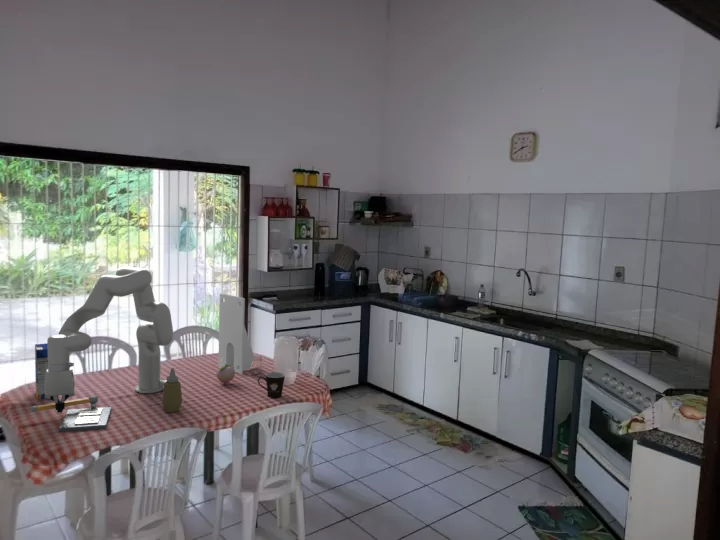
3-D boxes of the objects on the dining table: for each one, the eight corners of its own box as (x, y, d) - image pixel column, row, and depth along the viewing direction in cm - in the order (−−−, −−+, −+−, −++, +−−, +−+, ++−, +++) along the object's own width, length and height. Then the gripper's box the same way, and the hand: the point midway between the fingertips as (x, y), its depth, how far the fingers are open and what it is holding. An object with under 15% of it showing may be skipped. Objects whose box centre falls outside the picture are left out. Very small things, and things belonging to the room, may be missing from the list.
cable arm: (99, 402, 233) (99, 397, 232) (31, 413, 217) (31, 408, 217) (96, 399, 235) (96, 395, 235) (29, 410, 220) (29, 405, 220)
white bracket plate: (263, 369, 301) (265, 296, 297) (241, 374, 290) (243, 298, 286) (239, 362, 314) (241, 291, 310) (218, 366, 303) (219, 293, 299)
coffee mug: (287, 395, 262) (288, 374, 261) (277, 400, 254) (278, 378, 253) (266, 390, 267) (267, 370, 266) (256, 395, 259) (256, 374, 258)
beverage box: (37, 400, 241) (36, 350, 239) (35, 392, 251) (34, 344, 248) (55, 397, 245) (54, 348, 243) (53, 390, 254) (52, 343, 252)
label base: (111, 407, 236) (111, 400, 236) (105, 428, 215) (105, 420, 214) (69, 410, 231) (69, 402, 231) (59, 432, 210) (58, 423, 209)
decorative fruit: (230, 387, 269) (230, 367, 268) (214, 386, 271) (214, 365, 270) (237, 381, 278) (238, 362, 277) (222, 380, 280) (222, 360, 279)
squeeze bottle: (164, 406, 240) (165, 365, 238) (184, 407, 241) (184, 366, 239) (159, 413, 232) (160, 371, 230) (179, 413, 233) (180, 371, 231)
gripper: (81, 362, 226) (82, 406, 229) (39, 364, 221) (40, 409, 224) (78, 368, 219) (79, 413, 222) (35, 370, 214) (36, 416, 217)
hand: (60, 411), depth 223 cm, fingers closed
